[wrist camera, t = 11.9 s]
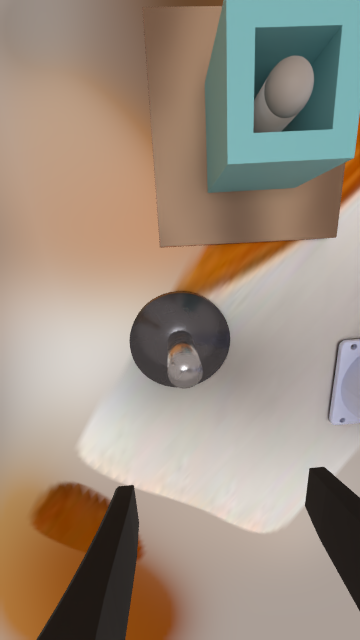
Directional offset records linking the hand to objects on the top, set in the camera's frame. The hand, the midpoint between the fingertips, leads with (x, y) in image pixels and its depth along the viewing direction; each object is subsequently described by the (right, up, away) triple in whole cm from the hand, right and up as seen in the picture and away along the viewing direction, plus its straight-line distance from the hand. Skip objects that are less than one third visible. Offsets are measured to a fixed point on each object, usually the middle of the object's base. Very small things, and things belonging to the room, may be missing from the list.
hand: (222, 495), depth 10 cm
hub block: (+2, +18, +6) cm, 19 cm away
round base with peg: (-2, +6, +9) cm, 11 cm away
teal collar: (+3, +18, +5) cm, 19 cm away
